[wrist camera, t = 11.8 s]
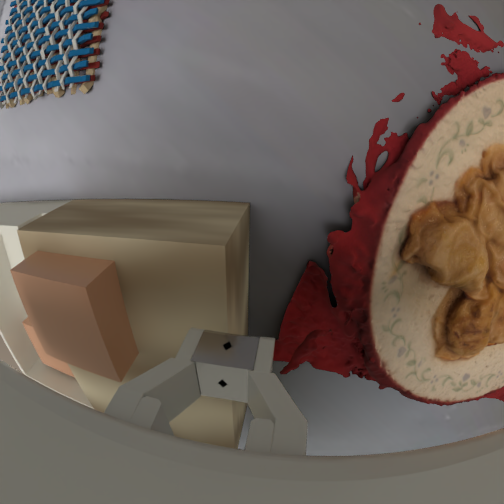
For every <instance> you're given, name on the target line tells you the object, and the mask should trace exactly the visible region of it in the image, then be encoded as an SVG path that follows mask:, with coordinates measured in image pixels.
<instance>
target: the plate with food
mask: <svg viewBox="0 0 504 504" xmlns="http://www.w3.org/2000/svg"><path fill="white" fill-rule="evenodd" d="M469 17H470V18H472V19H473V20H474V21H475V22H476V23H477V25H478V26H479V28H480V30H481V32H479V31H476V30H474V29H472V28H471V27H469V26H467V25H465V24H463V23H462V22H461V21H460V20H459V19H458V16H457V14H456V12H455V13H454V14H453V15H452V16H449V15H448V14H447V13H446V11H445V8H444V7H443V6H442V5H440V4H437V5H436V6H435V8H434V19H435V20H434V25H433V30H432V33H434V35H435V38H439V37H441V36H443V37H445V38H447V39H449V40H452V41H455V42H457V43H458V45H460V43H461V44H462V45H463V46H464V47H465V48H467V44H469V46H470V49H471V50H472V49H474V50H475V51H476V52H480V51H479V50H481V52H483V53H484V52H486V51H490V50H491V49H493V50H494V48H496V47H497V46H498V45H499V46H501V47H503V46H504V43H503V42H502V41H499V42H498V43H496V42H495V41H493V40H492V39H491V38H490V37H488V36H487V35H486V34H485V33H484V31H483V30H484V27H483V25H482V24H481V23H480V21H479V19H478V18H477V17H476V16H469ZM419 25H421V23H419ZM442 33H443V34H442ZM460 39H461V42H459V41H460ZM493 50H491V51H492V52H493ZM457 51H458V52H457ZM456 52H457V53H456ZM498 53H499V52H498ZM441 58H444V59H445V61H446V62H445V63H444V62H442V63H441V65H445V66H446V68H447V69H448V71H449V72H450V73H451V74H452V75H453V74H454V72H455V73H456V74H457V75H458V79H457V80H456V82H451V83H449V84H448V85H445V86H444V87H443V88H441V89H440V90H442V93H438V96H437V95H435V92H433V91H432V95H433V98H434V99H435V100H436V101H437V103H438V105H440V103H441V100H442V98H440V97H443V96H444V95H454V96H455V95H457V94H459V95H458V96H456V97H453V98H449V100H448V102H447V103H443V104H442V105H441V106H440V107H439V109H438V110H437V111H436V112H435V114H434V116H433V117H432V118H431V119H430V120H429V121H428V122H427V123H421V124H419V125H418V127H417V128H416V130H415V131H414V133H413V135H412V137H411V138H410V140H409V138H408V134H407V133H404V134H403V135H402V136H399V137H398V136H397V133H393V132H391V136H390V137H389V138H384V140H385V141H386V144H385V146H383V147H382V146H381V145H379V144H377V141H378V140H379V137H380V135H382V134H384V133H385V131H386V130H387V129H388V127H387V124H388V120H389V118H385V119H380V120H379V121H378V122H377V123H376V124H375V127H374V130H373V135H372V137H371V138H370V139H369V150H368V152H367V156H366V160H365V162H366V178H365V180H364V182H363V187H364V190H363V191H361V190H360V188H359V187H358V182H357V179H356V176H355V174H354V172H353V170H352V163H353V155H352V159H351V161H350V164H349V167H348V171H347V177H346V179H347V183H349V184H351V185H353V199H354V203H355V204H354V205H353V206H352V207H351V211H350V217H351V218H352V228H351V230H350V231H349V232H346V233H345V232H343V231H341V230H336V231H333V232H330V233H329V235H328V238H327V241H328V242H329V243H330V246H329V247H328V250H327V255H328V257H329V264H330V266H329V267H330V273H331V275H332V276H331V281H329V282H330V283H331V284H332V291H333V294H334V296H335V297H336V298H335V299H336V300H337V302H336V303H337V305H338V306H336V308H335V307H334V308H333V307H332V306H331V303H330V299H329V293H328V290H327V282H326V281H327V280H328V278H327V276H326V275H325V273H324V270H322V269H321V268H320V267H318V265H317V264H316V263H315V262H312V261H309V262H308V264H307V268H306V270H305V272H304V273H303V275H302V277H301V280H300V282H299V284H298V285H297V287H296V290H295V292H294V294H293V297H292V299H291V301H290V303H289V304H288V307H287V309H286V312H285V315H284V319H283V321H282V324H281V327H280V328H281V330H280V333H279V340H277V339H275V346H274V356H273V361H285V362H289V363H288V365H287V366H285V367H284V368H283V369H282V371H280V374H287V373H288V372H289V371H291V370H294V369H297V368H298V367H299V365H300V364H302V363H304V362H305V361H307V362H310V364H311V365H312V366H313V367H314V368H316V369H320V370H326V371H330V372H336V373H338V374H341V375H343V376H344V377H349V376H350V371H352V374H357V375H358V377H360V378H363V376H365V378H366V379H367V380H373V381H377V382H378V383H379V384H380V386H379V389H384V388H386V387H391V388H393V389H395V390H397V391H399V392H400V393H401V394H402V395H404V396H405V397H407V398H410V399H414V400H416V401H420V402H424V403H427V404H430V403H432V404H437V405H440V406H442V405H453V404H455V403H462V402H463V401H464V402H466V401H467V402H469V401H470V400H471V401H473V400H479V399H480V398H484V397H487V398H496V399H499V400H500V401H501V400H502V401H503V402H504V73H502V74H500V73H499V74H497V73H495V74H492V76H490V77H489V78H486V79H484V80H483V81H480V78H481V77H488V76H489V73H492V71H489V70H488V69H490V68H489V67H487V66H485V67H484V68H483V69H481V70H480V69H479V68H478V67H477V66H478V63H479V62H477V61H476V60H472V59H474V58H472V59H471V58H470V55H469V54H468V53H467V52H466V51H462V52H461V50H457V49H455V51H454V52H452V53H451V54H449V57H445V55H444V54H442V55H441ZM476 81H478V82H479V83H477V85H476V84H475V82H476ZM467 86H468V87H470V89H469V90H468V91H466V92H464V89H465V88H466V87H467ZM460 91H461V92H460ZM404 95H405V94H404V93H400V94H399V95H398V96H397V97H396V98H395V99H393V100H392V102H399V101H401V100H402V99H403V96H404ZM433 106H434V105H433ZM428 112H431V109H428ZM417 118H418V117H417ZM384 151H388V154H389V155H388V159H387V161H386V163H385V164H384V165H383V167H382V168H381V169H380V170H379V171H378V172H375V165H376V162H377V158H378V156H379V155H380V154H381V153H382V152H384ZM370 181H371V182H370ZM369 183H370V184H369ZM363 349H364V350H363Z"/></svg>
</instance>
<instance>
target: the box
mask: <svg viewBox="0 0 504 504" xmlns="http://www.w3.org/2000/svg"><path fill="white" fill-rule="evenodd" d="M70 201H72V200H47V201H25V202H8V203H0V334H1V336H2V338H3V340H4V342H5V344H6V345H7V347H8V349H9V351H10V353H11V354H12V356H13V358H14V359H15V361H16V363H17V364H18V366H19V368H20V369H21V371H22V372H23V374H25V375H26V376H28V377H30V378H32V379H33V380H35V381H37V382H39V383H40V384H42V385H44V386H46V387H48V388H50V389H52V390H54V391H56V392H58V393H60V394H62V395H64V396H66V397H68V398H70V399H72V400H74V401H77V402H79V403H81V404H83V405H86V406H88V407H90V408H93V406H92V405H91V403H90V402H89V400H88V399H87V397H86V395H85V394H84V392H83V390H82V389H81V387H80V385H79V384H78V382H77V380H76V378H74V377H72V376H70V375H67V374H65V373H63V372H61V371H59V370H56V369H54V368H52V367H50V366H48V365H46V364H44V363H43V362H42V361H41V359H40V357H39V355H38V353H37V352H36V350H35V348H34V346H33V344H32V342H31V340H30V338H29V336H28V334H27V332H26V330H25V328H24V326H23V323H22V322H23V321H24V320H25V319H26V318H27V317H28V315H27V313H26V311H25V308H24V306H23V304H22V301H21V299H20V296H19V293H18V291H17V288H16V285H15V283H14V280H13V277H12V274H11V271H10V270H11V269H12V268H14V267H15V266H16V265H18V264H19V263H21V262H22V261H23V260H25V259H24V255H23V252H22V248H21V245H20V241H19V237H18V233H17V230H18V229H20V228H22V227H23V226H25V225H27V224H29V223H30V222H32V221H34V220H36V219H38V218H39V217H41V216H43V215H45V214H47V213H49V212H51V211H52V210H54V209H56V208H58V207H60V206H62V205H64V204H66V203H68V202H70ZM93 409H94V408H93Z"/></svg>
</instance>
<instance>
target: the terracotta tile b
mask: <svg viewBox="0 0 504 504" xmlns="http://www.w3.org/2000/svg"><path fill="white" fill-rule="evenodd" d="M10 271H11V274H12V277H13V280H14V283H15V285H16V288H17V291H18V293H19V296H20V299H21V301H22V304H23V306H24V308H25V311H26V313H27V315H28V318H29V320H30V322H31V324H32V326H33V329H34V331H35V333H36V335H37V337H38V339H39V341H40V343H41V345H42V347H43V349H44V351H45V353H46V354H47V355H49V356H52V357H54V358H56V359H58V360H61V361H63V362H66V363H68V364H71V365H73V366H76V367H78V368H81V369H83V370H86V371H89V372H91V373H94V374H97V375H100V376H103V377H105V378H108V379H111V380H114V381H117V382H122V380H123V378H124V377H125V375H126V373H127V372H128V370H129V368H130V367H131V365H132V364H133V362H134V360H135V359H136V357H137V355H138V354H139V352H138V349H137V346H136V343H135V339H134V336H133V333H132V329H131V326H130V322H129V319H128V315H127V312H126V308H125V304H124V300H123V296H122V292H121V288H120V284H119V280H118V275H117V271H116V266H115V261H112V260H104V259H96V258H88V257H81V256H73V255H65V254H58V253H51V252H44V251H36V252H35V253H33V254H32V255H30V256H29V257H28V258H26V259H25V260H23V261H22V262H21V263H19V264H18V265H16V266H15V267H14V268H12V269H11V270H10Z"/></svg>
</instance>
